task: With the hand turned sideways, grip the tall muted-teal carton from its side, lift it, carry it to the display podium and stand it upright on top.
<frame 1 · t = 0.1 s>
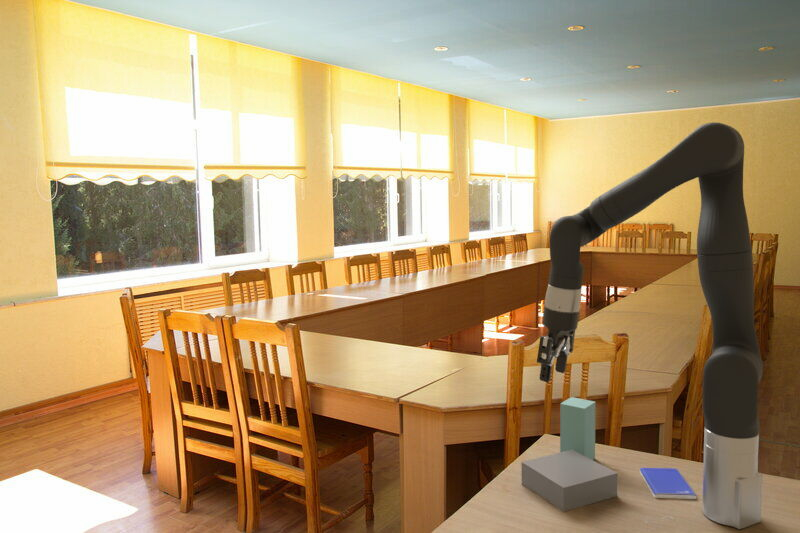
hand: (552, 376, 141), 22 cm above the table, tool pointing down, fingers open, 8 cm apart
carton: (577, 459, 150), on the table
podium: (568, 489, 135), on the table
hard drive: (666, 487, 136), on the table
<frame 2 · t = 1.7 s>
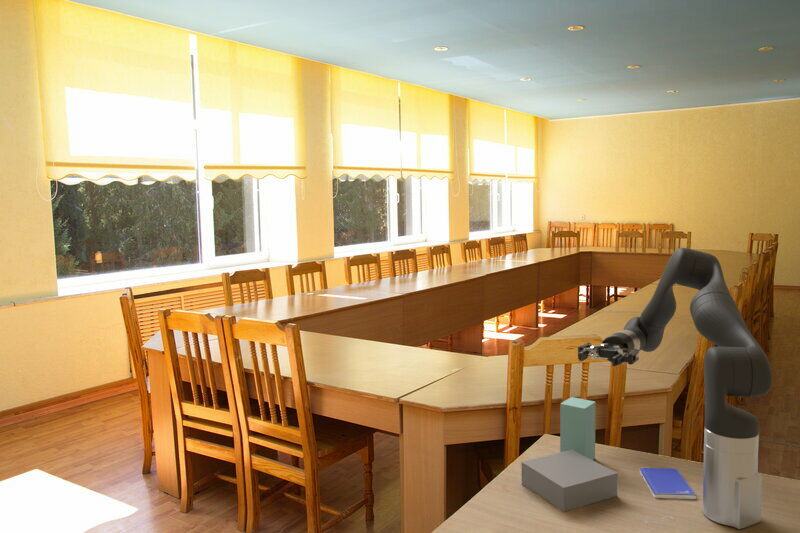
hand: (596, 359, 156), 22 cm above the table, tool horizontal, fingers open, 8 cm apart
nothing on the table moved.
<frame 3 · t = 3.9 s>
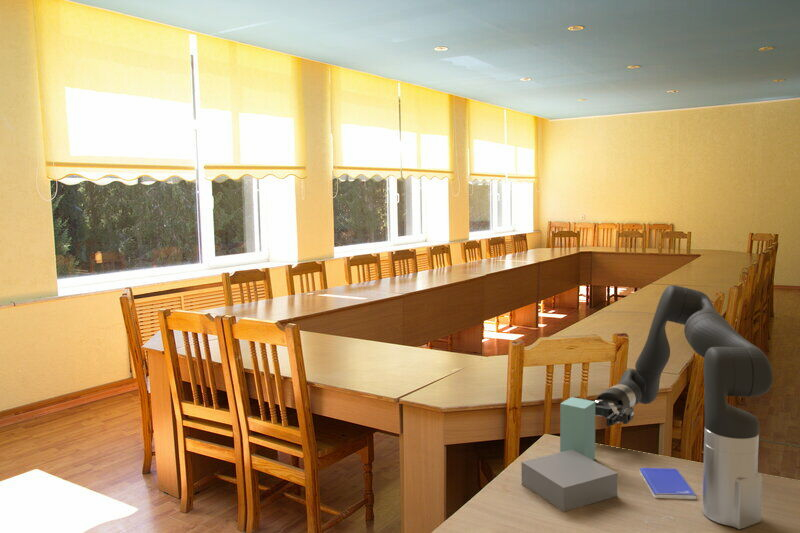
hand: (590, 418, 155), 8 cm above the table, tool horizontal, fingers open, 8 cm apart
nothing on the table moved.
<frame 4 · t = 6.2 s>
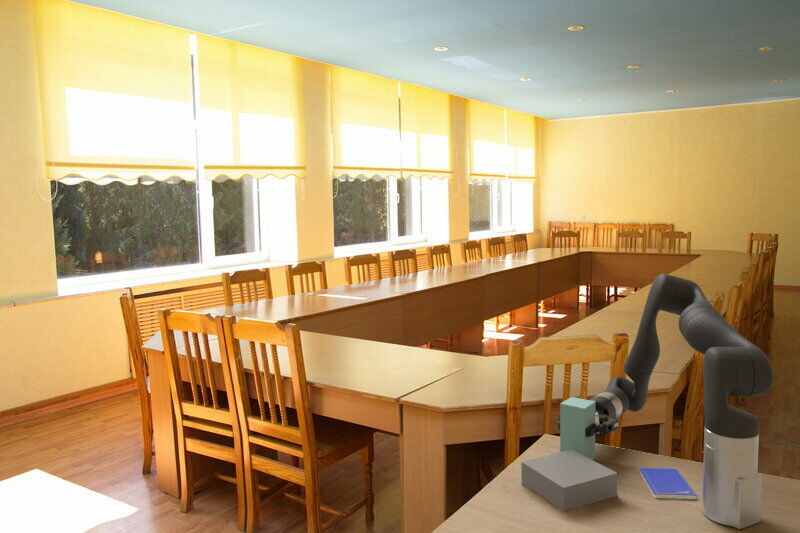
hand: (573, 430, 147), 8 cm above the table, tool horizontal, fingers closed on carton, 6 cm apart
carton: (577, 459, 150), on the table, touching gripper
everything else where it was.
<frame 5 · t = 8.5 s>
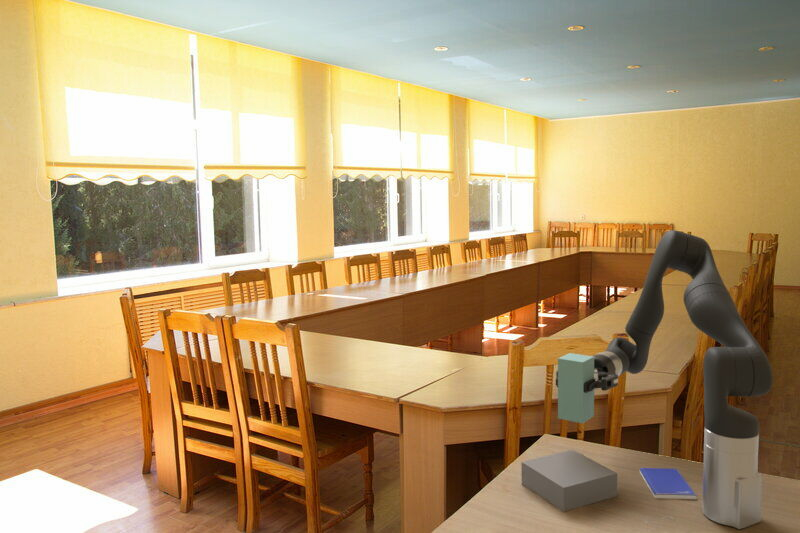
hand: (571, 385, 142), 20 cm above the table, tool horizontal, fingers closed on carton, 6 cm apart
carton: (576, 417, 145), point 12 cm above the table, touching gripper
everything else where it was.
when the fingers open (14 cm above the table, at t = 11.2 s): carton drops 1 cm, resting on podium.
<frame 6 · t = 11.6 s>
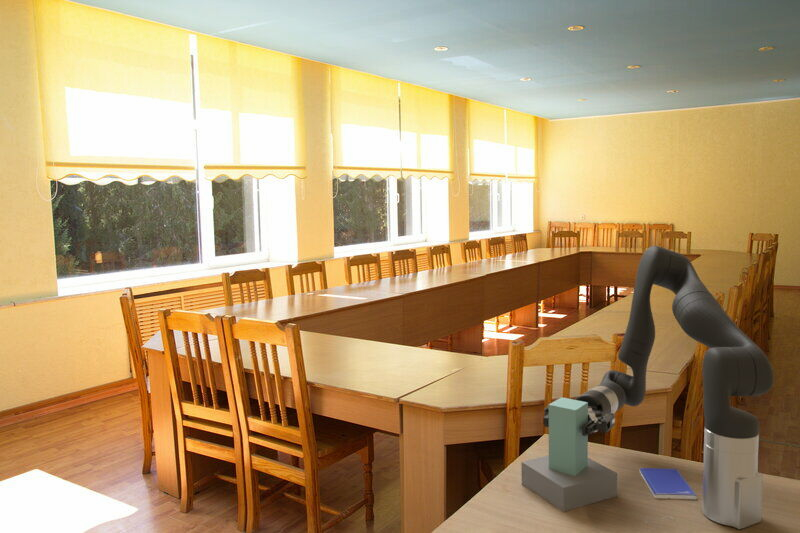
hand: (564, 426, 132), 15 cm above the table, tool horizontal, fingers open, 8 cm apart
carton: (568, 467, 134), point 5 cm above the table, touching podium
everything else where it was.
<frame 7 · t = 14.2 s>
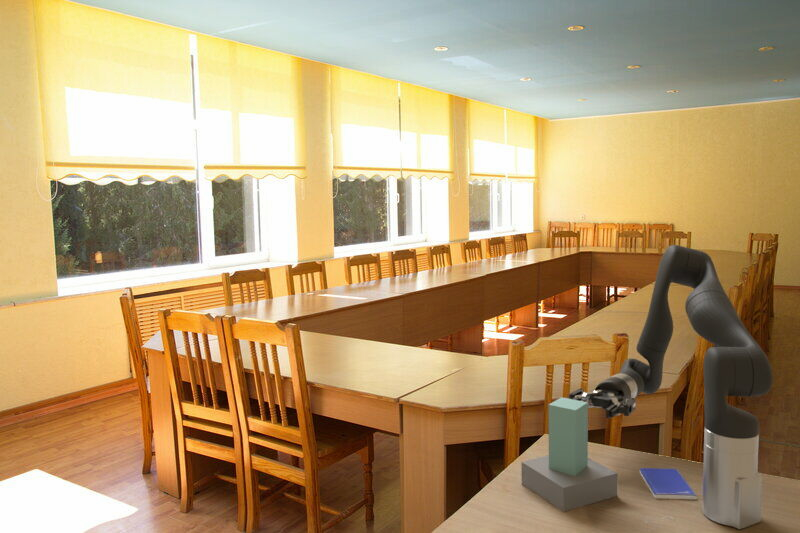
hand: (588, 410, 141), 14 cm above the table, tool horizontal, fingers open, 8 cm apart
nothing on the table moved.
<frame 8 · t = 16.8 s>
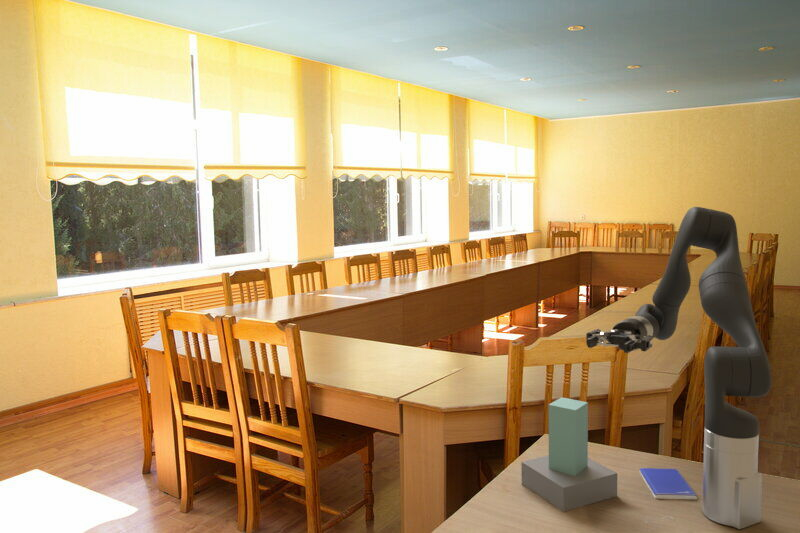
hand: (607, 346, 144), 28 cm above the table, tool horizontal, fingers open, 8 cm apart
nothing on the table moved.
at the end: carton inside the target area on the podium (0.0 cm from its centre), point 5.0 cm above the podium's base; carton tilted 0°; the gripper is holding nothing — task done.
